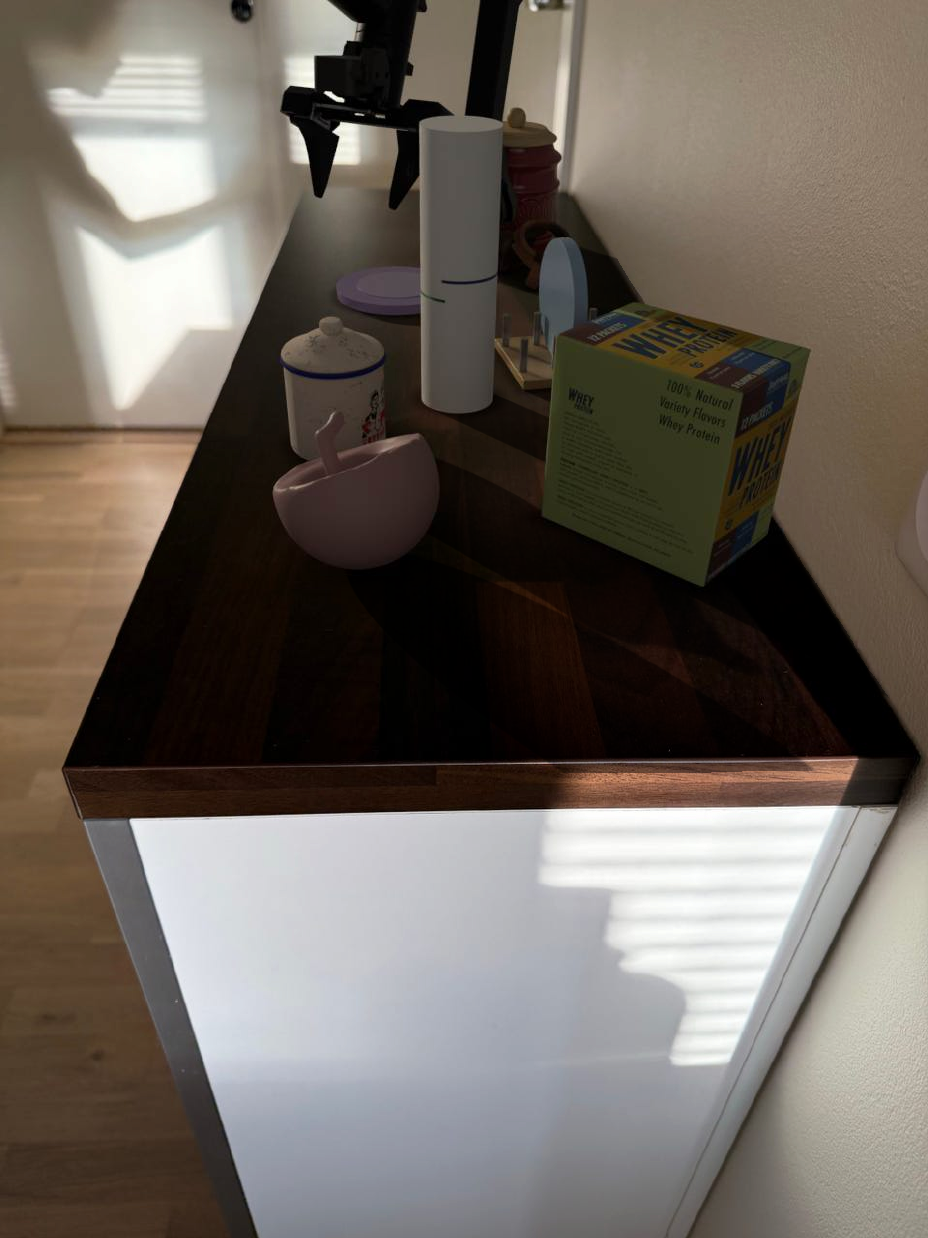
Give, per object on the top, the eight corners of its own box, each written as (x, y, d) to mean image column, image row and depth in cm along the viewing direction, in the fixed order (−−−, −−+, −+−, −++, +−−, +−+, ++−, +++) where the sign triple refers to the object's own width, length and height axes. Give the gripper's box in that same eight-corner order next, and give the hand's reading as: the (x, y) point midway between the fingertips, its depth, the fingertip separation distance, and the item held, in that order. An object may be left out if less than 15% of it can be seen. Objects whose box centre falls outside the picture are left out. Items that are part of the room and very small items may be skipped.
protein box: (705, 590, 72) (745, 392, 63) (538, 517, 80) (552, 332, 71) (770, 534, 78) (815, 347, 69) (610, 472, 86) (631, 297, 77)
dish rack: (494, 346, 110) (495, 306, 107) (587, 340, 112) (591, 300, 109) (523, 390, 100) (525, 347, 98) (624, 382, 102) (629, 340, 100)
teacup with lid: (385, 469, 86) (381, 340, 79) (282, 467, 86) (268, 338, 79) (392, 410, 96) (389, 291, 89) (299, 409, 96) (289, 289, 89)
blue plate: (536, 335, 110) (542, 223, 103) (547, 334, 110) (555, 223, 103) (568, 377, 101) (579, 258, 93) (581, 376, 101) (593, 257, 94)
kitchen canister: (451, 236, 144) (452, 101, 133) (529, 227, 148) (536, 96, 138) (490, 261, 134) (494, 119, 124) (572, 251, 139) (583, 112, 128)
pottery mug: (559, 268, 134) (581, 221, 127) (555, 320, 130) (578, 275, 123) (475, 244, 132) (492, 195, 125) (468, 296, 127) (485, 249, 120)
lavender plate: (354, 271, 130) (354, 261, 129) (465, 279, 128) (466, 269, 127) (321, 309, 118) (321, 299, 117) (444, 319, 116) (444, 308, 115)
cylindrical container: (485, 416, 95) (495, 134, 80) (414, 409, 96) (410, 128, 81) (498, 387, 101) (509, 118, 86) (430, 380, 102) (430, 113, 87)
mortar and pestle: (359, 500, 82) (352, 369, 75) (471, 551, 76) (474, 414, 69) (248, 560, 74) (229, 421, 67) (362, 622, 68) (354, 476, 61)
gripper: (261, 2, 96) (236, 170, 100) (428, 14, 89) (395, 195, 93) (322, 47, 106) (297, 198, 110) (476, 61, 99) (444, 222, 103)
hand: (354, 202), depth 104 cm, fingers open, 9 cm apart
